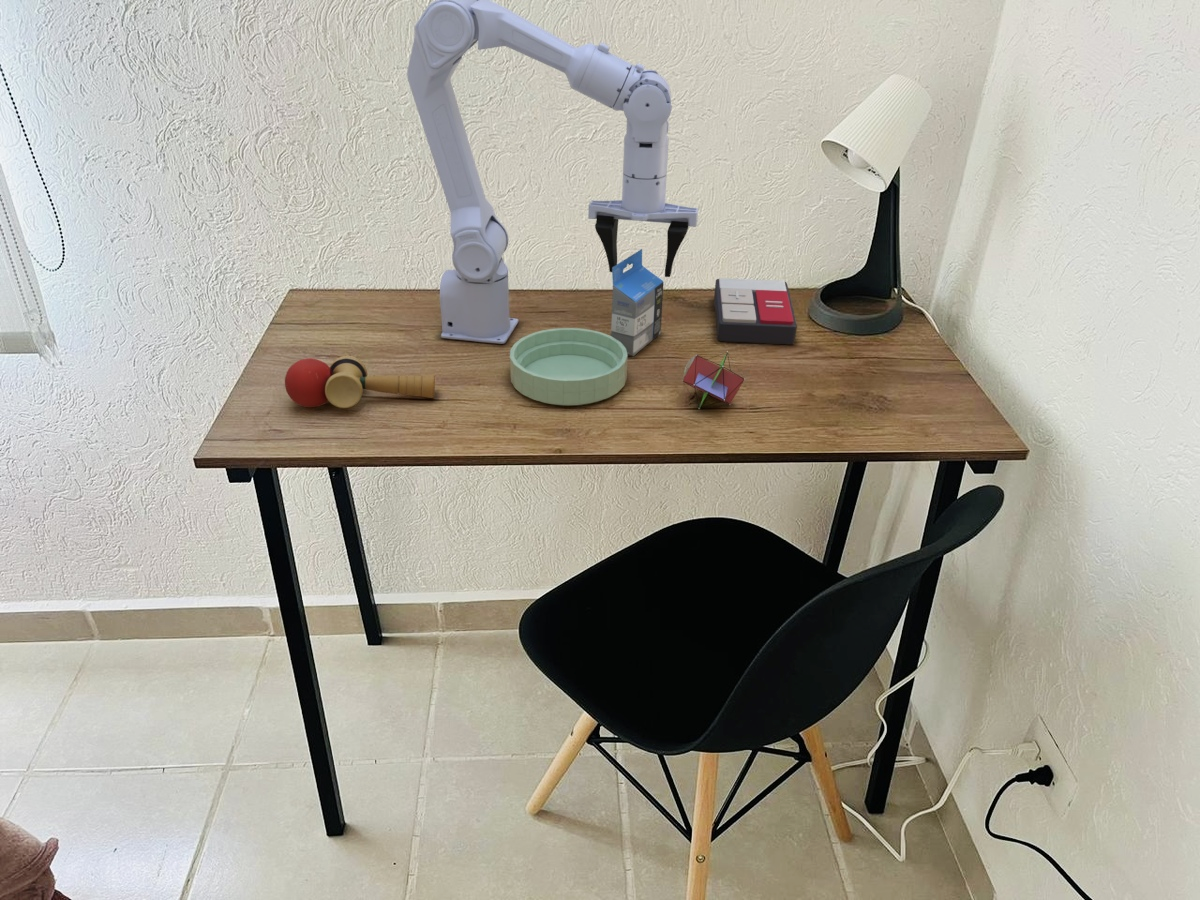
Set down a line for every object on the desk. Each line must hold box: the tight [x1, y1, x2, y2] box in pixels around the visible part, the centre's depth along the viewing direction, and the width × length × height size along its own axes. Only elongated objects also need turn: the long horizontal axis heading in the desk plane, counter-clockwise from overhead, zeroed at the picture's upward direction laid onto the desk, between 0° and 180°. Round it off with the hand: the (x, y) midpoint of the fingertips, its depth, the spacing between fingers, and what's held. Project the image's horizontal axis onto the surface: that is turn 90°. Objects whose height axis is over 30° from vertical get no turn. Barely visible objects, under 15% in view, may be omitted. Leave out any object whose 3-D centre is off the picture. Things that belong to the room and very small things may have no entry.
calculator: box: [713, 277, 798, 345], centre depth 136 cm, size 11×4×15 cm
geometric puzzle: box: [681, 350, 746, 410], centre depth 115 cm, size 7×7×8 cm
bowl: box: [509, 327, 629, 407], centre depth 120 cm, size 15×15×4 cm
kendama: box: [284, 355, 436, 409], centre depth 114 cm, size 8×6×18 cm
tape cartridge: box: [610, 248, 665, 357], centre depth 127 cm, size 9×4×12 cm, turn 151°
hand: (640, 272), depth 126 cm, fingers open, 7 cm apart
